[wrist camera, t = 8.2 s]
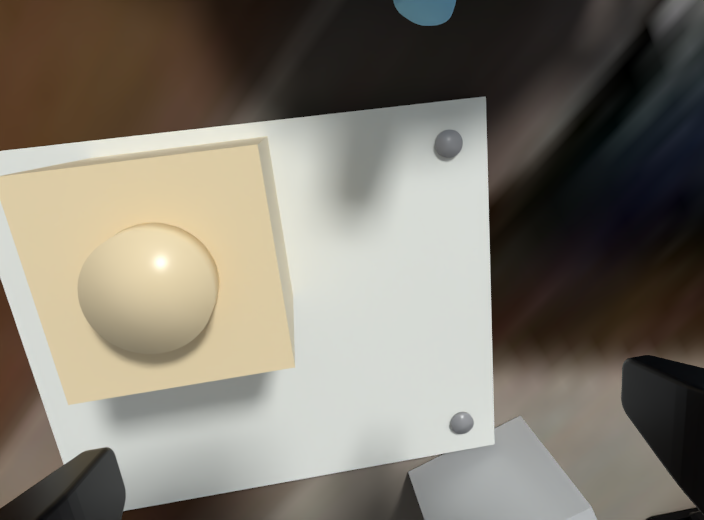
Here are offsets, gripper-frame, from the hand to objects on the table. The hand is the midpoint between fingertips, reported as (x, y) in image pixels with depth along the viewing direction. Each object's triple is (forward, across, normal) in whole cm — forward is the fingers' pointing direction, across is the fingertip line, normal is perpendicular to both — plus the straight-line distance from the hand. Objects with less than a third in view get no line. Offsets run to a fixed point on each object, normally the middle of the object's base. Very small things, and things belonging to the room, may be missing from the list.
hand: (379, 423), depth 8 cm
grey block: (+12, -6, +13) cm, 19 cm away
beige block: (+10, +5, -2) cm, 12 cm away
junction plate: (+12, +3, +2) cm, 12 cm away
